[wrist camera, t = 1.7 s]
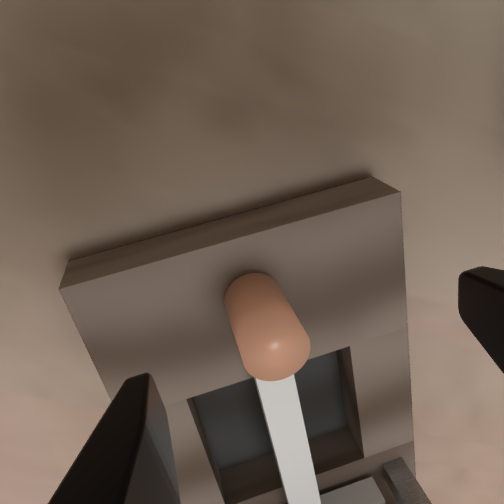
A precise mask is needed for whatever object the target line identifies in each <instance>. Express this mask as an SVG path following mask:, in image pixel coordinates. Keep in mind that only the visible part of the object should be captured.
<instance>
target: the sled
mask: <svg viewBox="0 0 504 504" xmlns="http://www.w3.org/2000/svg"><path fill="white" fill-rule="evenodd" d="M224 305H225V309H226V312H227V315H228V318H229V321H230V324H231V327H232V330H233V334H234V337H235V340H236V343H237V346H238V349H239V352H240V355H241V358H242V361H243V364H244V367H245V369H246V370H247V372H248V373H249V374H250V375H251V376H253V377H254V380H255V383H256V387H257V391H258V395H259V398H260V402H261V406H262V410H263V413H264V417H265V421H266V425H267V428H268V432H269V436H270V440H271V443H272V447H273V451H274V455H275V458H276V462H277V466H278V470H279V473H280V477H281V481H282V485H283V489H284V492H285V496H286V500H287V504H385V499H384V497H383V496H382V494H381V492H380V490H379V488H378V486H377V485H376V483H375V481H374V479H373V477H369V478H366V479H364V480H361V481H358V482H355V483H353V484H350V485H347V486H344V487H342V488H339V489H336V490H333V491H331V492H328V493H325V494H322V495H320V496H319V491H318V486H317V482H316V477H315V472H314V467H313V463H312V458H311V453H310V448H309V444H308V439H307V434H306V429H305V425H304V420H303V415H302V410H301V406H300V401H299V396H298V391H297V387H296V382H295V377H294V374H295V373H296V372H297V371H298V370H300V369H301V368H302V366H303V365H304V364H305V362H306V361H307V359H308V357H309V354H310V349H311V345H310V339H309V337H308V335H307V333H306V332H305V330H304V328H303V326H302V325H301V323H300V321H299V320H298V318H297V316H296V314H295V313H294V311H293V309H292V308H291V306H290V304H289V303H288V301H287V299H286V297H285V296H284V294H283V292H282V291H281V289H280V287H279V285H278V284H277V282H276V281H275V280H274V279H273V278H272V277H270V276H268V275H266V274H262V273H250V274H246V275H243V276H241V277H239V278H238V279H236V280H235V281H234V282H233V283H232V284H231V285H230V286H229V288H228V289H227V291H226V294H225V298H224Z"/></svg>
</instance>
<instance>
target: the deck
mask: <svg viewBox="0 0 504 504" xmlns="http://www.w3.org/2000/svg"><path fill="white" fill-rule="evenodd" d="M250 273H262V274H266V275H268V276H270V277H272V278H273V279H274V280H275V281H276V282H277V284H278V285H279V287H280V289H281V291H282V292H283V294H284V296H285V297H286V299H287V301H288V303H289V304H290V306H291V308H292V309H293V311H294V313H295V314H296V316H297V318H298V320H299V321H300V323H301V325H302V326H303V328H304V330H305V332H306V333H307V335H308V337H309V339H310V345H311V349H310V354H309V357H308V359H307V361H306V362H305V364H304V365H303V366H302V368H301V369H300V370H298V371H297V372H296V373H295V374H294V377H295V382H296V387H297V391H298V396H299V401H300V406H301V410H302V415H303V420H304V425H305V429H306V434H307V439H308V444H309V448H310V453H311V458H312V463H313V467H314V472H315V477H316V482H317V486H318V491H319V496H320V495H322V494H325V493H328V492H331V491H333V490H336V489H339V488H342V487H344V486H347V485H350V484H353V483H355V482H358V481H361V480H364V479H366V478H369V477H373V479H374V481H375V483H376V485H377V486H378V488H379V490H380V492H381V494H382V496H383V497H384V499H385V504H399V503H398V502H397V500H396V498H395V496H394V495H393V493H392V491H391V489H390V488H389V486H388V484H387V482H386V481H385V479H384V476H383V466H382V464H383V463H386V462H389V461H391V460H394V459H397V458H400V457H402V458H403V460H404V461H405V463H406V464H407V466H408V468H409V469H410V471H411V472H412V474H413V475H414V477H415V479H416V473H415V454H414V436H413V417H412V398H411V379H410V361H409V342H408V323H407V304H406V286H405V267H404V248H403V229H402V211H401V192H400V191H398V190H396V189H394V188H393V187H391V186H389V185H387V184H385V183H383V182H382V181H380V180H378V179H376V178H374V177H369V178H365V179H361V180H358V181H354V182H351V183H347V184H344V185H340V186H336V187H333V188H329V189H326V190H322V191H318V192H315V193H311V194H308V195H304V196H300V197H297V198H293V199H290V200H286V201H283V202H279V203H275V204H272V205H268V206H265V207H261V208H257V209H254V210H250V211H247V212H243V213H240V214H236V215H232V216H229V217H225V218H222V219H218V220H214V221H211V222H207V223H204V224H200V225H197V226H193V227H189V228H186V229H182V230H179V231H175V232H171V233H168V234H164V235H161V236H157V237H154V238H150V239H146V240H143V241H139V242H136V243H132V244H128V245H125V246H121V247H118V248H114V249H111V250H107V251H103V252H100V253H96V254H93V255H89V256H85V257H82V258H78V259H75V260H71V261H68V264H67V267H66V270H65V272H64V275H63V278H62V281H61V284H60V287H59V291H60V293H61V295H62V298H63V300H64V302H65V304H66V306H67V308H68V310H69V312H70V314H71V317H72V319H73V321H74V323H75V325H76V327H77V329H78V331H79V333H80V335H81V338H82V340H83V342H84V344H85V346H86V348H87V350H88V352H89V354H90V357H91V359H92V361H93V363H94V365H95V367H96V369H97V371H98V373H99V375H100V378H101V380H102V382H103V384H104V386H105V388H106V390H107V392H108V394H109V397H110V399H111V401H112V400H113V399H114V397H115V395H116V394H117V392H118V391H119V389H120V387H121V386H122V384H123V383H124V381H125V380H126V379H128V378H130V377H133V376H136V375H139V374H143V373H146V372H147V373H150V374H151V375H152V377H153V379H154V382H155V384H156V387H157V389H158V391H159V394H160V396H161V399H162V401H163V404H164V406H165V409H166V413H167V418H168V424H169V430H170V436H171V442H172V449H173V455H174V461H175V467H176V474H177V480H178V486H179V494H180V502H181V504H287V500H286V496H285V492H284V489H283V485H282V481H281V477H280V473H279V470H278V466H277V462H276V458H275V455H274V451H273V447H272V443H271V440H270V436H269V432H268V428H267V425H266V421H265V417H264V413H263V410H262V406H261V402H260V398H259V395H258V391H257V387H256V383H255V380H254V377H253V376H251V375H250V374H249V373H248V372H247V370H246V369H245V367H244V364H243V361H242V358H241V355H240V352H239V349H238V346H237V343H236V340H235V337H234V334H233V330H232V327H231V324H230V321H229V318H228V315H227V312H226V309H225V305H224V298H225V294H226V291H227V289H228V288H229V286H230V285H231V284H232V283H233V282H234V281H235V280H236V279H238V278H239V277H241V276H243V275H246V274H250Z"/></svg>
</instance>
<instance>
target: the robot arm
mask: <svg viewBox="0 0 504 504" xmlns="http://www.w3.org/2000/svg"><path fill="white" fill-rule="evenodd" d="M458 309H459V314H460V316H461V318H462V320H463V322H464V323H465V324H466V326H467V327H468V328H469V329H470V331H471V332H472V333H473V335H474V336H475V337H476V338H477V340H478V341H479V342H480V344H481V345H482V346H483V347H484V349H485V350H486V351H487V353H488V354H489V355H490V357H491V358H492V359H493V360H494V362H495V363H496V364H497V366H498V367H499V368H500V369H501V371H502V372H503V373H504V270H499V269H494V268H489V267H484V266H481V267H476V268H473V269H470V270H467V271H464V272H462V273H461V274H460V276H459V281H458ZM48 504H181V502H180V494H179V486H178V480H177V474H176V467H175V461H174V455H173V449H172V442H171V436H170V430H169V424H168V418H167V413H166V409H165V406H164V404H163V401H162V399H161V396H160V394H159V391H158V389H157V387H156V384H155V382H154V379H153V377H152V375H151V374H150V373H147V372H146V373H143V374H139V375H136V376H133V377H130V378H128V379H126V380H125V381H124V383H123V384H122V386H121V387H120V389H119V391H118V392H117V394H116V395H115V397H114V399H113V400H112V402H111V403H110V405H109V407H108V408H107V410H106V411H105V413H104V415H103V416H102V418H101V419H100V421H99V423H98V424H97V426H96V427H95V429H94V431H93V432H92V434H91V435H90V437H89V439H88V440H87V442H86V443H85V445H84V447H83V448H82V450H81V451H80V453H79V455H78V456H77V458H76V459H75V461H74V463H73V464H72V466H71V467H70V469H69V471H68V472H67V474H66V475H65V477H64V479H63V480H62V482H61V483H60V485H59V487H58V488H57V490H56V491H55V493H54V495H53V496H52V498H51V499H50V501H49V503H48Z"/></svg>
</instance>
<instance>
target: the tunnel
mask: <svg viewBox="0 0 504 504" xmlns="http://www.w3.org/2000/svg"><path fill="white" fill-rule="evenodd" d="M382 466H383V476H384V479H385V481H386V482H387V484H388V486H389V488H390V489H391V491H392V493H393V495H394V496H395V498H396V500H397V502H398V503H399V504H432V503H431V502H430V500H429V499H428V497H427V496H426V494H425V493H424V491H423V489H422V488H421V486H420V485H419V483H418V482H417V480H416V479H415V477H414V475H413V474H412V472H411V471H410V469H409V468H408V466H407V464H406V463H405V461H404V460H403V458H402V457H400V458H397V459H394V460H391V461H389V462H386V463H383V464H382Z"/></svg>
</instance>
